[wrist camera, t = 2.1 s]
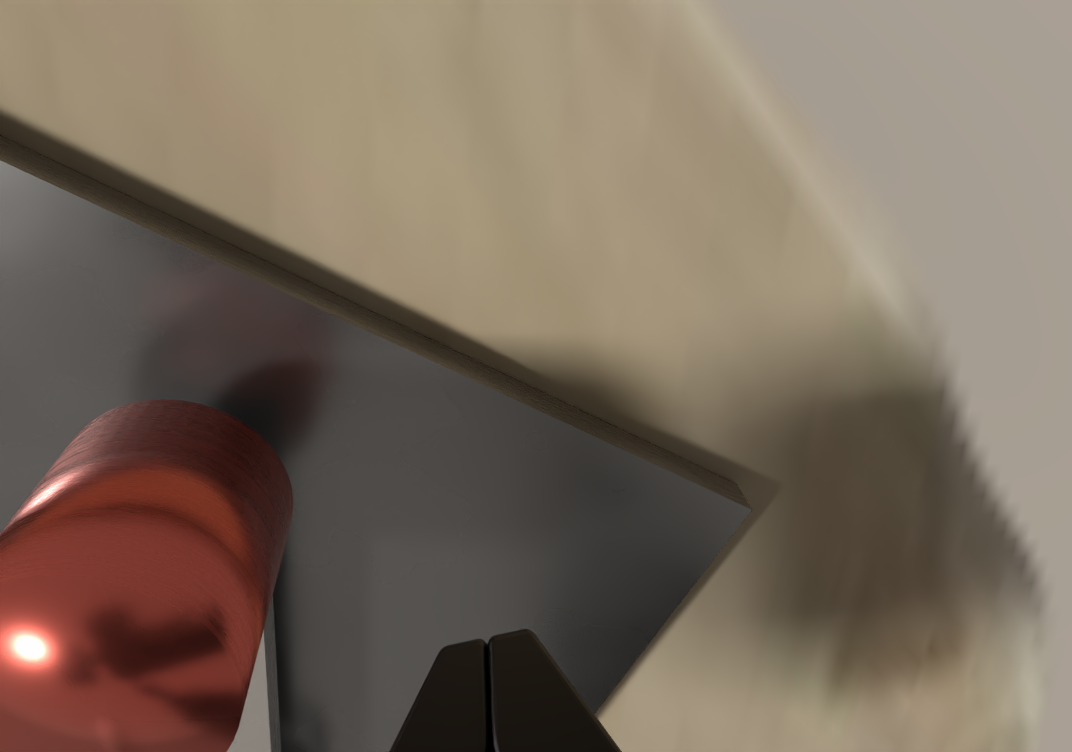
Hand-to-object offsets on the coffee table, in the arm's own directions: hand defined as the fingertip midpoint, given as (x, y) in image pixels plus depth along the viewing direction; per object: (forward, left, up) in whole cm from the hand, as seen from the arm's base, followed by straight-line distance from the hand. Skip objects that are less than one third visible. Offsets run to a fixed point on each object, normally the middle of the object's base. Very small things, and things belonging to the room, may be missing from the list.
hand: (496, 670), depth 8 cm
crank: (+1, +6, -5) cm, 8 cm away
